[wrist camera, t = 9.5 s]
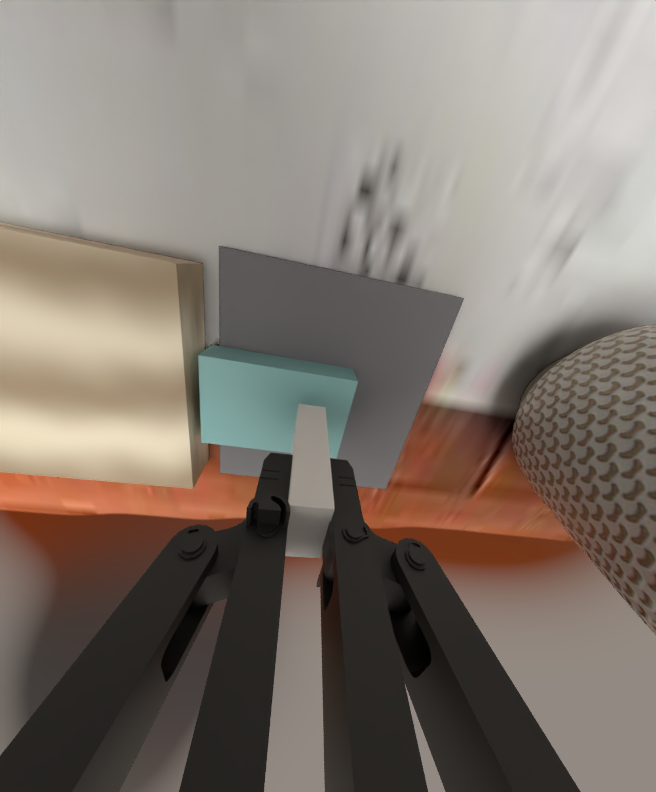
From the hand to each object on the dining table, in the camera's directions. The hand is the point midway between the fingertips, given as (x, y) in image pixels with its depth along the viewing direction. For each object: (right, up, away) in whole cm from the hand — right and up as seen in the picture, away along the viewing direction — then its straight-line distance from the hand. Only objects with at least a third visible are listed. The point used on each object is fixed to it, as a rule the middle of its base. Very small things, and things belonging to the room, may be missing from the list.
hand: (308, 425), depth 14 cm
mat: (+1, +2, +4) cm, 4 cm away
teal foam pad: (-2, +2, +3) cm, 4 cm away
